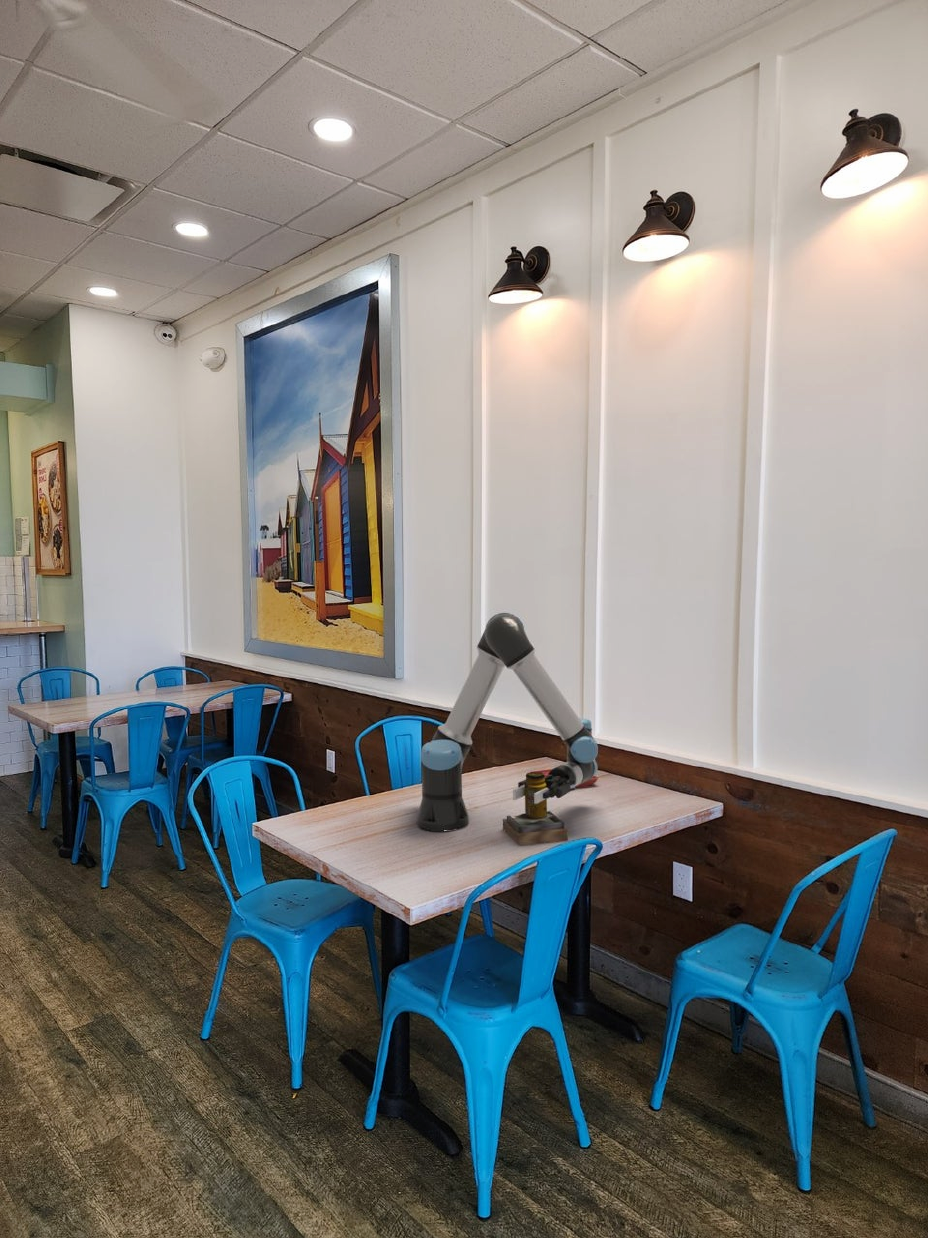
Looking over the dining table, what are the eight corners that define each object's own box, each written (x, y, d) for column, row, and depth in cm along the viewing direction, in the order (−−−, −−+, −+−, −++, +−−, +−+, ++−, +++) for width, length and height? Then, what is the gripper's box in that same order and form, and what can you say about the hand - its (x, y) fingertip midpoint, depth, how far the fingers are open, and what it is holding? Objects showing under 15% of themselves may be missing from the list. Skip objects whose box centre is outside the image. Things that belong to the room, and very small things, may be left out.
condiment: (553, 816, 223) (552, 773, 222) (533, 823, 217) (532, 779, 216) (534, 811, 228) (532, 769, 227) (513, 818, 222) (512, 775, 222)
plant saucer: (529, 780, 281) (528, 770, 281) (575, 774, 287) (575, 765, 287) (551, 793, 264) (550, 783, 264) (599, 787, 270) (599, 778, 270)
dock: (518, 845, 214) (518, 829, 214) (502, 829, 228) (502, 813, 227) (567, 840, 218) (567, 823, 218) (549, 824, 231) (548, 809, 231)
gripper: (594, 794, 231) (555, 816, 213) (536, 785, 242) (495, 805, 223) (593, 769, 231) (555, 788, 212) (536, 761, 242) (494, 778, 223)
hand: (524, 796), depth 218 cm, fingers closed on condiment, 6 cm apart
